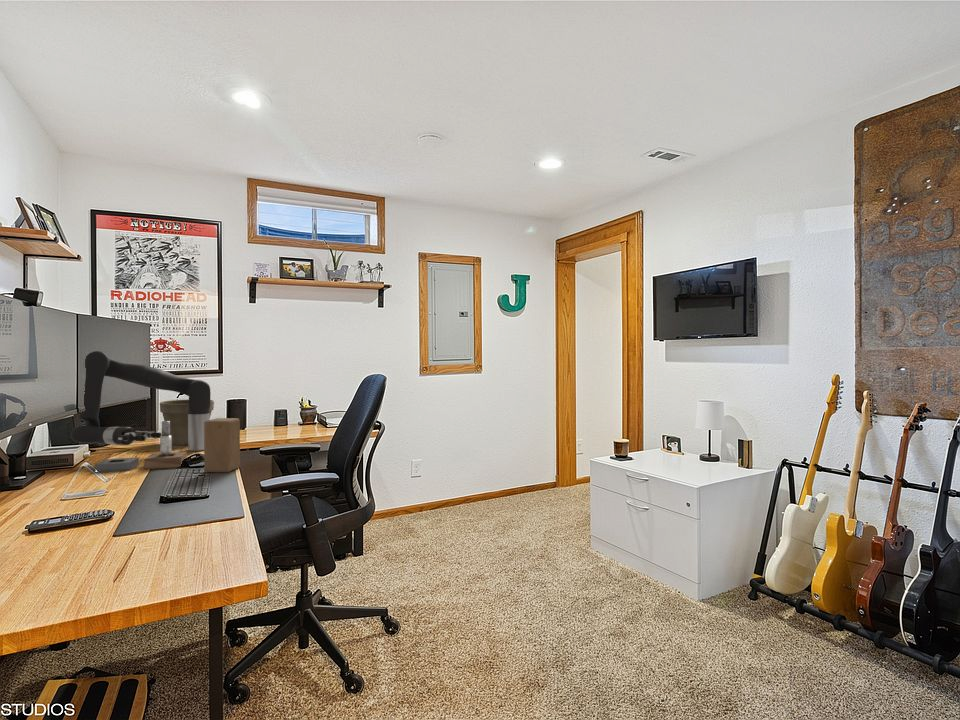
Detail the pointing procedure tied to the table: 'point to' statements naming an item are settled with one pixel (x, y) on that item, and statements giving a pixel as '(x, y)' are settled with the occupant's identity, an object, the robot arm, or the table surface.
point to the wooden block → (221, 444)
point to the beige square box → (164, 460)
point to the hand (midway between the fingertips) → (153, 436)
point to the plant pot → (178, 419)
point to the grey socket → (117, 464)
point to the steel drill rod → (165, 440)
